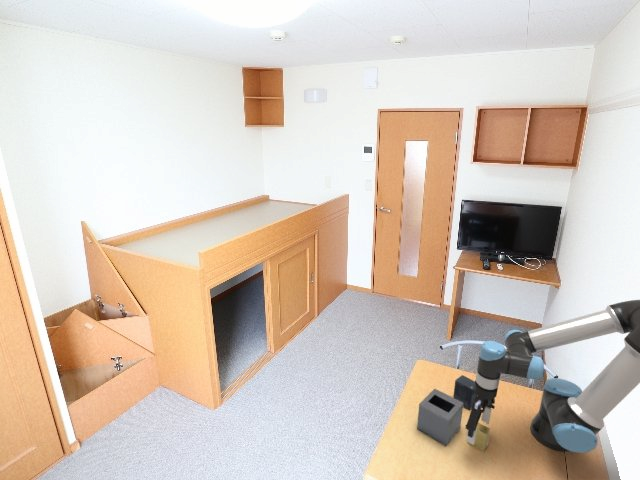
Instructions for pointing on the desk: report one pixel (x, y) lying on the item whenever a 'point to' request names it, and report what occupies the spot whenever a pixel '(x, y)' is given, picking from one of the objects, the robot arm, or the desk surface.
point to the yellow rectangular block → (481, 437)
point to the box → (465, 391)
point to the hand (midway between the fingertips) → (477, 431)
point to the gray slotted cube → (440, 416)
